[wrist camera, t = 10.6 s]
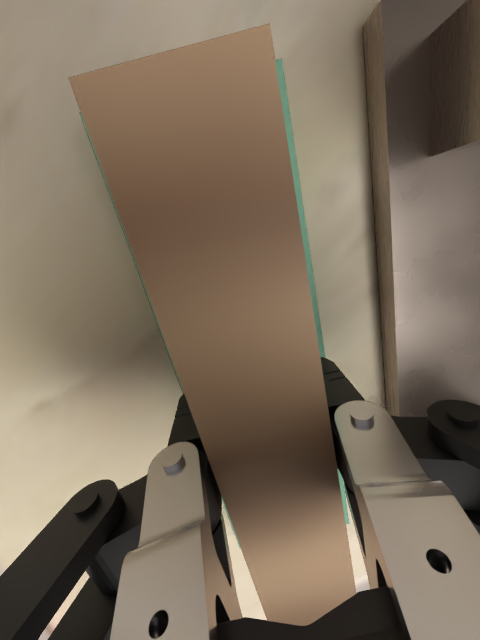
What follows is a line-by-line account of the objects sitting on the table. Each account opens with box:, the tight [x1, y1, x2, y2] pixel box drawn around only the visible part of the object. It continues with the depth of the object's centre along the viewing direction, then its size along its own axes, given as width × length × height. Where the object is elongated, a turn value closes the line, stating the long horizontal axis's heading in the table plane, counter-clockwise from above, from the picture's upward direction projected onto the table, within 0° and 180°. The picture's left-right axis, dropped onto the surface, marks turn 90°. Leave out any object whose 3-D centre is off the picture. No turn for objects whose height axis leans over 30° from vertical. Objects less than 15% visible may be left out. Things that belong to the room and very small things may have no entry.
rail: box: [69, 24, 356, 626], centre depth 8 cm, size 17×3×3 cm, turn 13°
